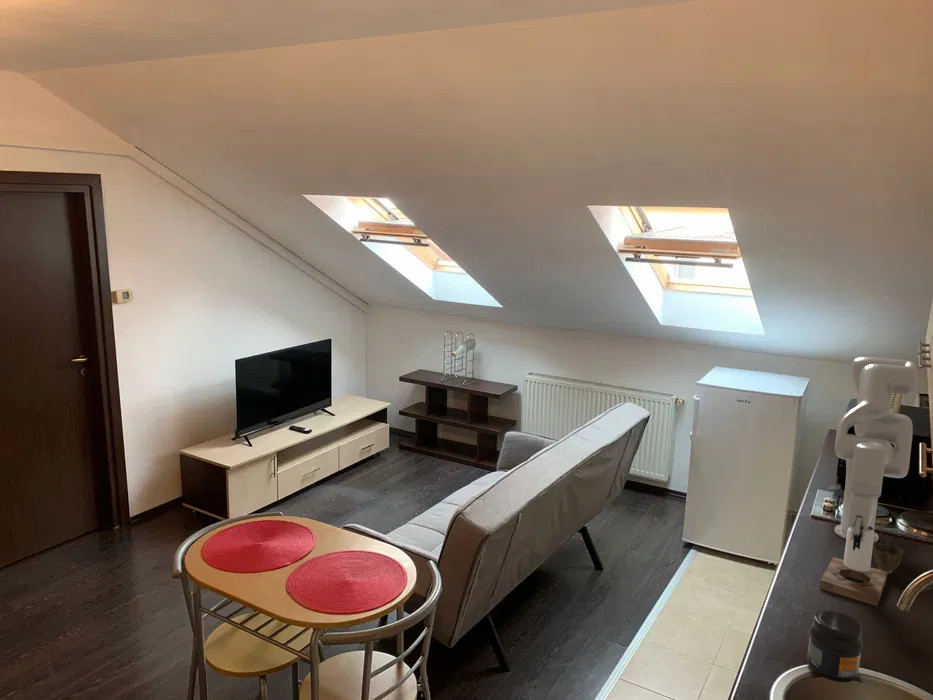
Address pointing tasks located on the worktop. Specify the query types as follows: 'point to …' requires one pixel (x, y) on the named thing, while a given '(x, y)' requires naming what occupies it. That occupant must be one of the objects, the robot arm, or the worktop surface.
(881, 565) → the cup
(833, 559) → the hole plate
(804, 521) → the worktop surface
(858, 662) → the supplement container
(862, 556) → the can
